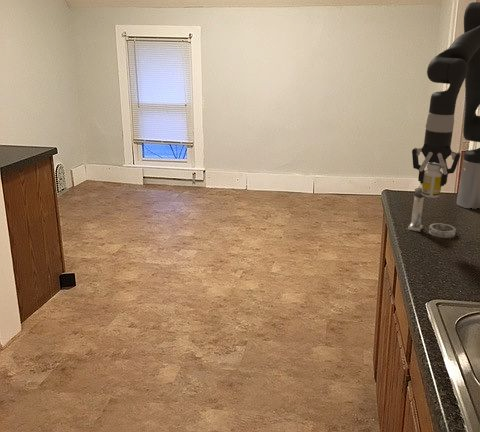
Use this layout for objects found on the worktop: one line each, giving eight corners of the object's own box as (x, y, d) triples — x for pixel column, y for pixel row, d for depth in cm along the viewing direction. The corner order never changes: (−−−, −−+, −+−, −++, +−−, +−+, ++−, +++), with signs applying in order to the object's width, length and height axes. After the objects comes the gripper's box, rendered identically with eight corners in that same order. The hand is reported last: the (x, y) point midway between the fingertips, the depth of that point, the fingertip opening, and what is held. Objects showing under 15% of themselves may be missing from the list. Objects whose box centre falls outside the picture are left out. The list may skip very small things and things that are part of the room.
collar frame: (411, 224, 191) (415, 192, 187) (456, 231, 185) (461, 198, 181) (406, 231, 184) (410, 198, 180) (453, 239, 178) (458, 205, 174)
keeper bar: (423, 197, 181) (424, 191, 180) (413, 196, 182) (414, 190, 181) (431, 185, 194) (432, 180, 193) (421, 184, 195) (422, 178, 195)
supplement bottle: (439, 193, 173) (444, 162, 169) (439, 198, 168) (444, 167, 165) (421, 191, 174) (425, 161, 171) (420, 196, 170) (424, 165, 166)
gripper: (466, 129, 164) (458, 184, 170) (416, 124, 170) (409, 178, 176) (464, 133, 158) (455, 191, 164) (411, 128, 164) (405, 184, 170)
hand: (431, 184), depth 170 cm, fingers closed on supplement bottle, 5 cm apart
